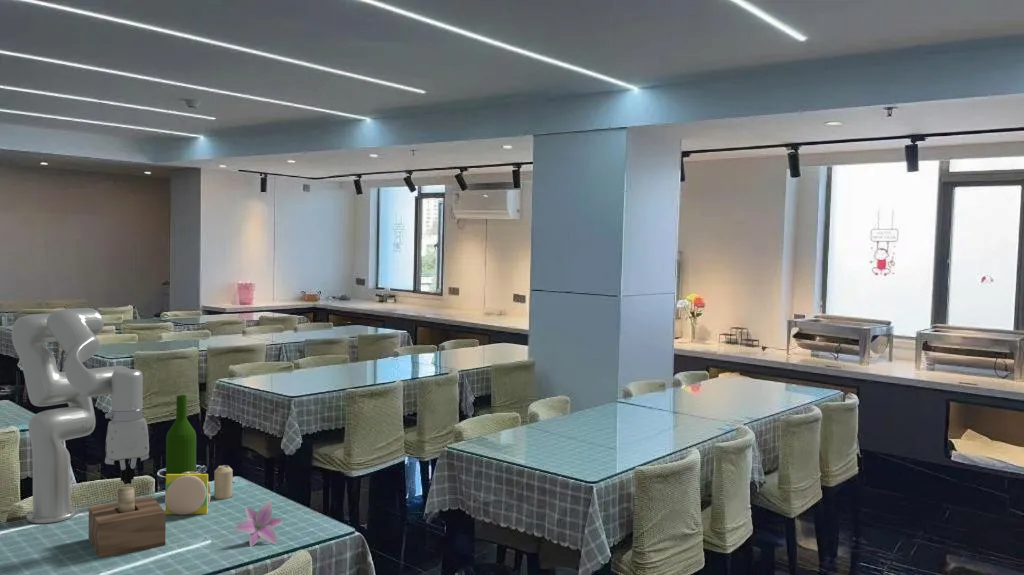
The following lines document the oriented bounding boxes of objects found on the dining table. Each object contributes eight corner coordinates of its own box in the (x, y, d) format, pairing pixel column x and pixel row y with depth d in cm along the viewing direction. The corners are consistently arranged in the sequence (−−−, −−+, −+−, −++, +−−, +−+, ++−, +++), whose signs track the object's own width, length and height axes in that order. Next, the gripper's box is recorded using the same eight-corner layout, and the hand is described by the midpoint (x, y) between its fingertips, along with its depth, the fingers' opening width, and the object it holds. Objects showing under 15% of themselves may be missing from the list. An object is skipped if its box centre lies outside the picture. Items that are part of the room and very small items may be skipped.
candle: (226, 499, 244) (226, 469, 243) (210, 498, 245) (210, 467, 244) (235, 494, 249) (236, 464, 249) (220, 493, 250) (220, 463, 250)
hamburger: (212, 507, 237) (213, 469, 236) (204, 516, 228) (205, 476, 228) (172, 507, 236) (172, 469, 235) (163, 516, 227) (163, 477, 227)
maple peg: (117, 513, 207) (116, 488, 207) (133, 511, 210) (133, 486, 209) (119, 518, 204) (119, 492, 204) (136, 515, 206) (135, 490, 206)
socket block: (88, 538, 209) (88, 506, 208) (151, 527, 218) (152, 496, 218) (98, 558, 196) (98, 523, 196) (165, 545, 206) (165, 512, 205)
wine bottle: (202, 494, 249) (202, 395, 248) (179, 501, 241) (180, 399, 239) (182, 489, 253) (182, 392, 251) (159, 497, 245) (160, 396, 243)
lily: (226, 549, 207) (233, 523, 203) (242, 518, 217) (249, 494, 213) (270, 561, 208) (277, 536, 204) (283, 530, 219) (290, 506, 215)
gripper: (98, 421, 198) (98, 491, 199) (160, 415, 207) (160, 481, 208) (93, 416, 204) (93, 483, 205) (153, 410, 213) (153, 475, 214)
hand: (127, 482), depth 206 cm, fingers closed
